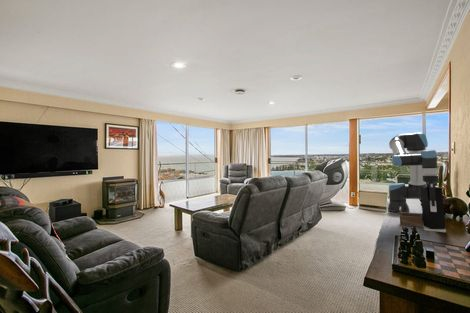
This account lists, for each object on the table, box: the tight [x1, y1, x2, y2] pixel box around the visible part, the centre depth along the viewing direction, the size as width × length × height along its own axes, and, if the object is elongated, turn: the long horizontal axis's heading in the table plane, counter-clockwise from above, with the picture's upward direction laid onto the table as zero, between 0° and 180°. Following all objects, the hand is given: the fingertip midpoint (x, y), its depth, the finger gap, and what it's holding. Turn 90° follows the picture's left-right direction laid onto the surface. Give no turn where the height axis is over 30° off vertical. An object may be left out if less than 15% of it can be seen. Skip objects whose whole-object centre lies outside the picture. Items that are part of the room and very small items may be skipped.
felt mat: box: [423, 225, 447, 233], centre depth 146 cm, size 10×10×1 cm
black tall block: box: [420, 182, 446, 230], centre depth 147 cm, size 8×8×28 cm
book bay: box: [398, 207, 424, 228], centre depth 161 cm, size 13×12×10 cm
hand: (432, 209), depth 146 cm, fingers open, 13 cm apart
